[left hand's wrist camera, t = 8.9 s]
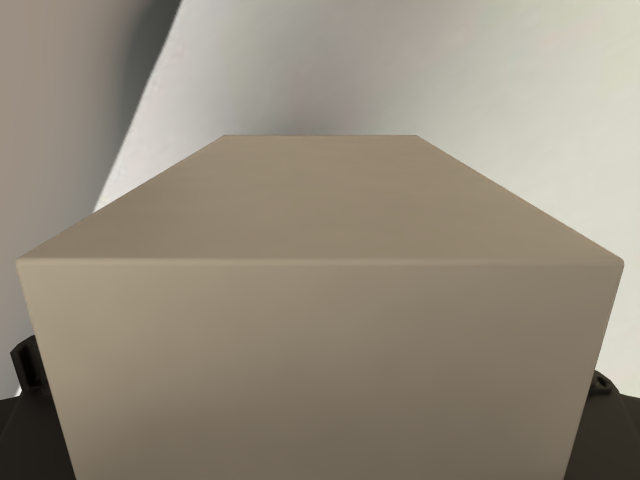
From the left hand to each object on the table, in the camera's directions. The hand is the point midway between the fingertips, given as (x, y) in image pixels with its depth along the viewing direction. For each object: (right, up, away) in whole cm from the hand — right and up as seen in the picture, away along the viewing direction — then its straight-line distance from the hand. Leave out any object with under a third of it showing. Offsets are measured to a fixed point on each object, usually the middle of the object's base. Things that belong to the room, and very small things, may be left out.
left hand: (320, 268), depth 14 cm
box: (0, -8, +4) cm, 8 cm away
